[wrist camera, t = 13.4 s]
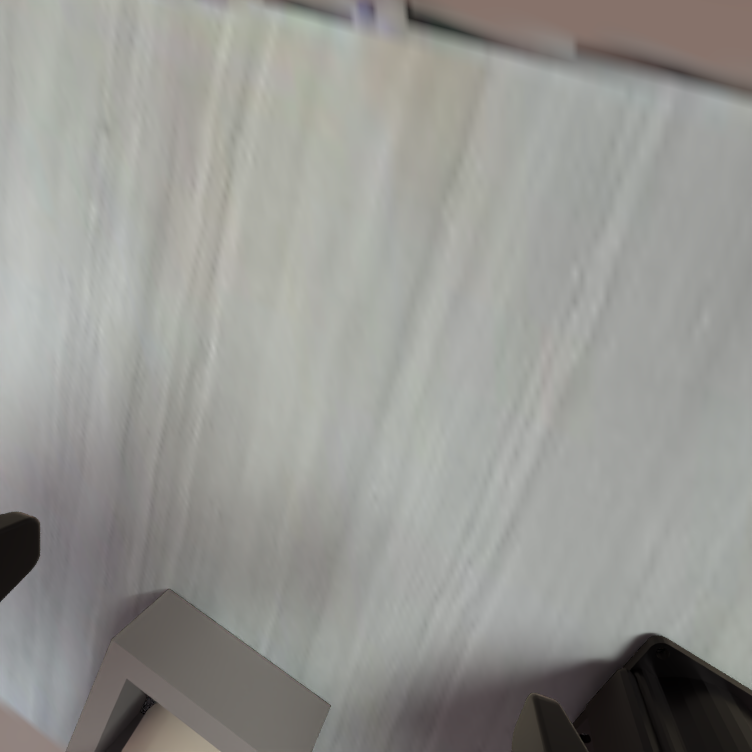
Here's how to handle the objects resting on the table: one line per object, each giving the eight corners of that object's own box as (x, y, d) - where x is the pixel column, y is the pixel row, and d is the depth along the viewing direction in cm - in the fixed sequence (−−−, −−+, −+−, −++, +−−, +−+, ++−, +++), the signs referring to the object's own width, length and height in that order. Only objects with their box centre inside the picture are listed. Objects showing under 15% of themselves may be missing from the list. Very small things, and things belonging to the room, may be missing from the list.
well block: (331, 706, 24) (298, 782, 20) (254, 823, 27) (214, 909, 23) (169, 588, 26) (111, 639, 22) (114, 712, 29) (55, 775, 25)
